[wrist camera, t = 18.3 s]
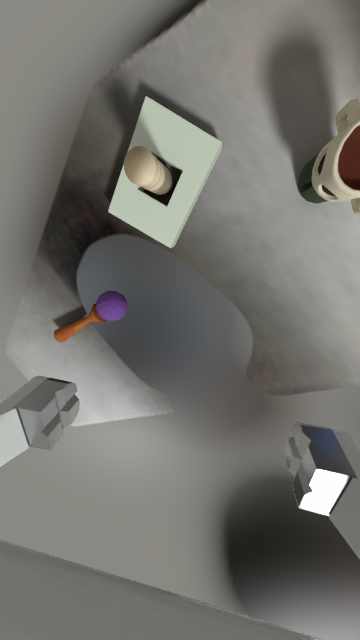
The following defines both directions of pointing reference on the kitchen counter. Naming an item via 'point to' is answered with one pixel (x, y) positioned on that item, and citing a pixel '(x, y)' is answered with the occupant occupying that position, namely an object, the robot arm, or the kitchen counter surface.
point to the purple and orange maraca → (96, 314)
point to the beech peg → (147, 171)
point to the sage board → (181, 153)
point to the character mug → (337, 163)
